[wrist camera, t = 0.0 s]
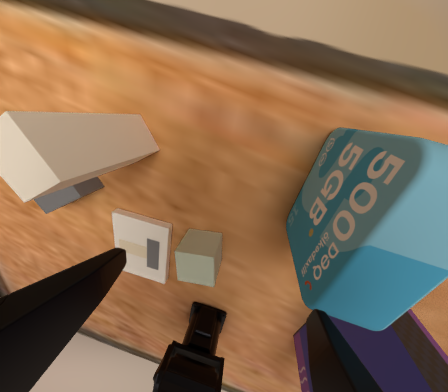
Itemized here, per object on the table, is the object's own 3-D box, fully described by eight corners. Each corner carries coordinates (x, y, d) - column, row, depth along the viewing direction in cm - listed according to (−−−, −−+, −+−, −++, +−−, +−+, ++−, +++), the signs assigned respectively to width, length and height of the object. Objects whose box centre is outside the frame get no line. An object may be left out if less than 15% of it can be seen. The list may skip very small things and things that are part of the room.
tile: (168, 278, 31) (164, 284, 30) (122, 263, 32) (116, 269, 31) (172, 223, 26) (168, 229, 25) (117, 208, 27) (111, 212, 26)
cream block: (159, 149, 22) (60, 181, 11) (134, 163, 23) (24, 202, 12) (140, 114, 20) (5, 110, 10) (114, 130, 22) (-28, 143, 11)
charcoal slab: (105, 185, 26) (81, 196, 22) (72, 201, 29) (46, 213, 25) (69, 133, 24) (35, 136, 20) (37, 156, 26) (1, 162, 23)
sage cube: (221, 259, 27) (214, 287, 23) (191, 254, 28) (177, 280, 24) (222, 232, 25) (214, 257, 21) (189, 228, 26) (174, 251, 21)
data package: (332, 125, 17) (448, 140, 7) (378, 138, 17) (579, 176, 6) (284, 222, 23) (304, 318, 12) (318, 234, 22) (372, 342, 12)
